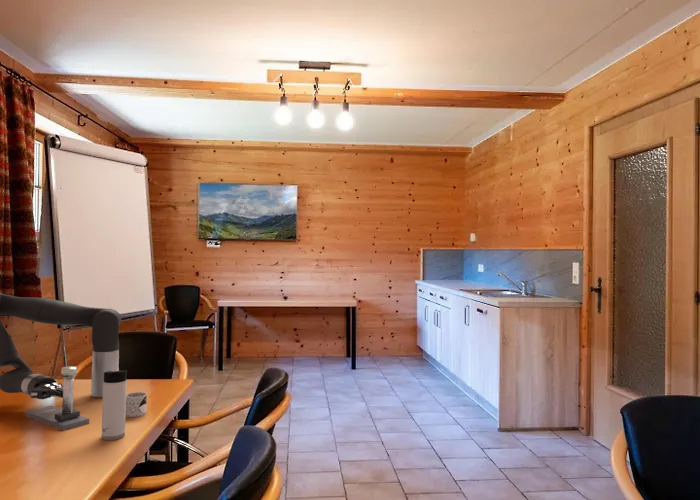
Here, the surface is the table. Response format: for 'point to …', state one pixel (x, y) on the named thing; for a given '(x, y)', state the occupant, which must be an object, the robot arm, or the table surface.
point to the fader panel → (48, 417)
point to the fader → (68, 394)
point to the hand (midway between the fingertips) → (65, 394)
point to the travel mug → (114, 405)
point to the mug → (136, 404)
